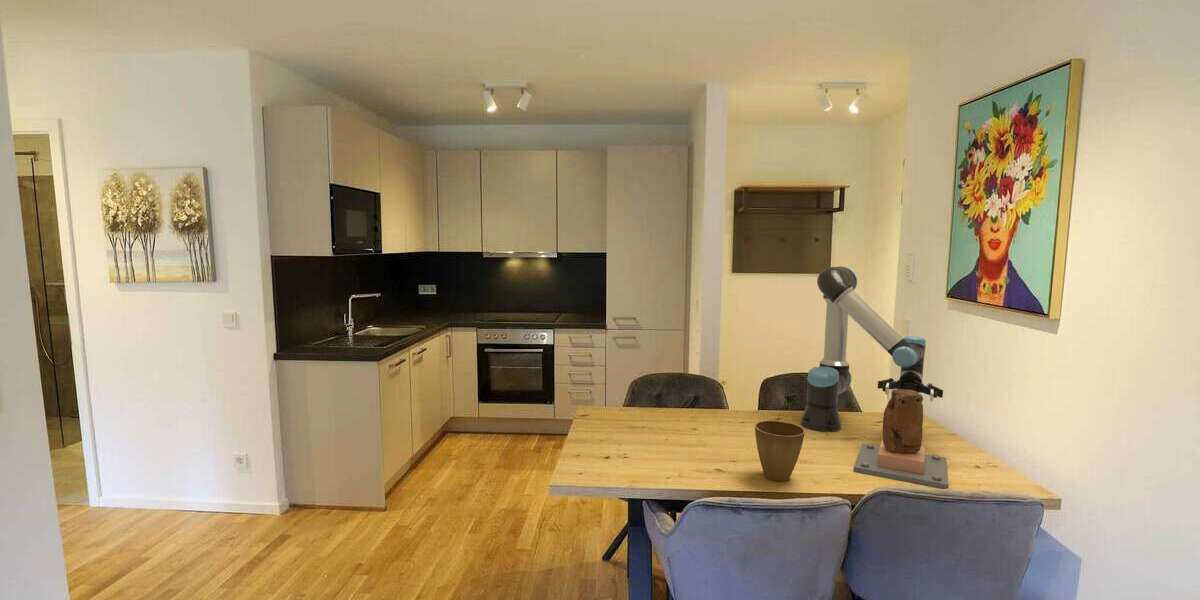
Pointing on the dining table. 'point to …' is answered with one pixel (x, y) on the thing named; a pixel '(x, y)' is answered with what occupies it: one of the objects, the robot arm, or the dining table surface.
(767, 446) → the plant pot
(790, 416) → the dining table surface
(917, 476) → the tower base
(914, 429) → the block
